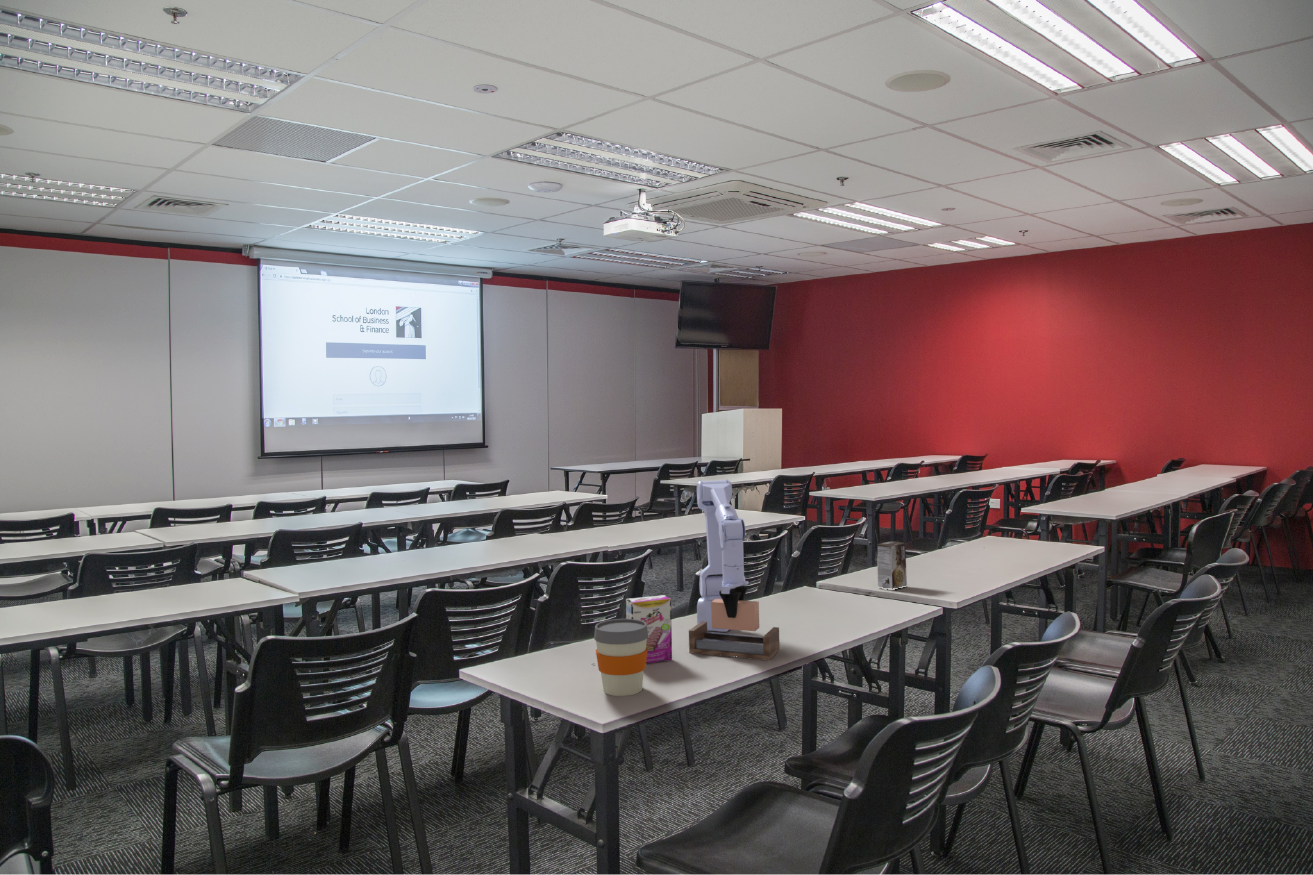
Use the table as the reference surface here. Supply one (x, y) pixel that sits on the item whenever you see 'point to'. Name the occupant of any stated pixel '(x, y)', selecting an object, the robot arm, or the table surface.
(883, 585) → the coffee box
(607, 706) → the table surface
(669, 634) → the candy bar box
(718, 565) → the robot arm
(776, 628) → the track base
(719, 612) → the salmon orange block
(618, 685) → the reusable coffee cup
